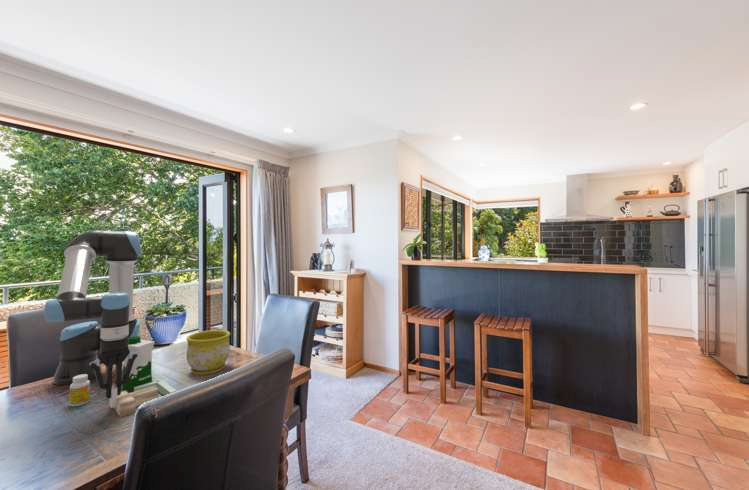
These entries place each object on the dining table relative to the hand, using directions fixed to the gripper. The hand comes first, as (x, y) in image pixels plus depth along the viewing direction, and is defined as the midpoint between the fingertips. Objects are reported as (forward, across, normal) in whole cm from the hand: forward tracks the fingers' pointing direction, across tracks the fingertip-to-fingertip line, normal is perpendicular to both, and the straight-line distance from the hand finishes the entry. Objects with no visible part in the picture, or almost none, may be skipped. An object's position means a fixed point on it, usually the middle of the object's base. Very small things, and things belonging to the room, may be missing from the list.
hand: (113, 405), depth 105 cm
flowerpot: (+2, +37, +12) cm, 39 cm away
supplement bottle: (+2, -6, +17) cm, 18 cm away
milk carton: (+2, +11, +16) cm, 20 cm away
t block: (+2, +7, 0) cm, 7 cm away
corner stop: (+2, +13, +1) cm, 13 cm away
